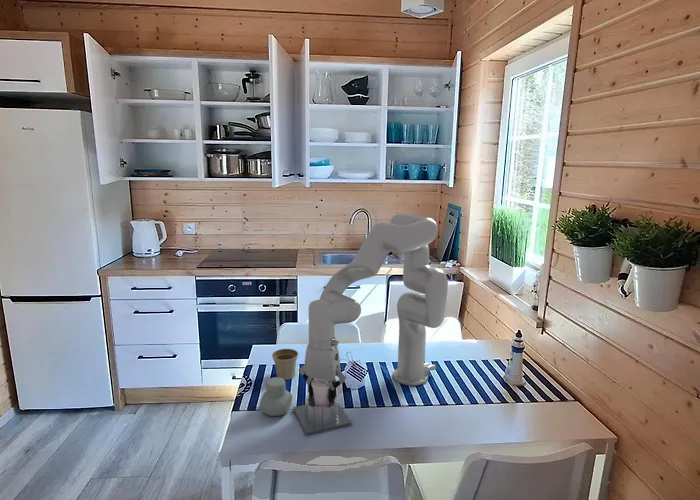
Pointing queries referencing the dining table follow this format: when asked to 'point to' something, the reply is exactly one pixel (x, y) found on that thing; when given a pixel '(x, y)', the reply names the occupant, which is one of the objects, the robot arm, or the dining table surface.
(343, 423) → the duct collar
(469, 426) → the dining table surface
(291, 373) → the flower pot
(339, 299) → the robot arm
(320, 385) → the smoothie
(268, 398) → the air freshener
